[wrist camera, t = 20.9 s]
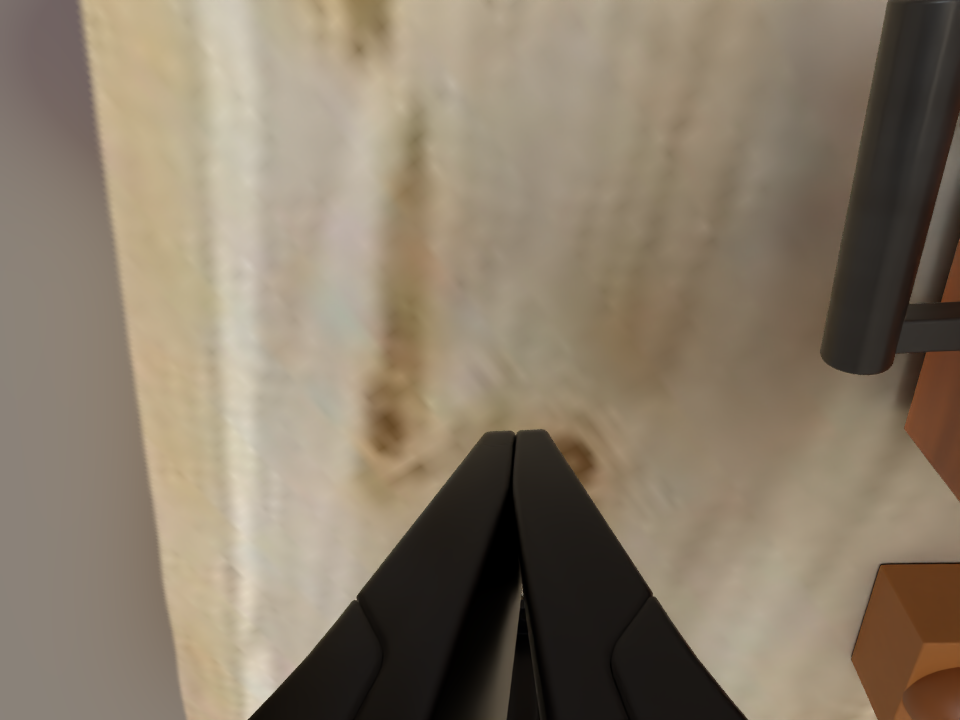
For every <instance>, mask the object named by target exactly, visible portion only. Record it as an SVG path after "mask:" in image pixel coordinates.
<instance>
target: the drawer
mask: <svg viewBox="0 0 960 720" xmlns="http://www.w3.org/2000/svg"><path fill="white" fill-rule="evenodd" d="M959 111H960V0H889V1H888V2H887V7H886V13H885V18H884V23H883V28H882V33H881V39H880V44H879V49H878V54H877V59H876V64H875V70H874V75H873V80H872V85H871V90H870V96H869V101H868V106H867V111H866V116H865V121H864V127H863V132H862V137H861V142H860V147H859V152H858V158H857V163H856V168H855V173H854V178H853V184H852V189H851V194H850V199H849V204H848V209H847V215H846V220H845V225H844V230H843V235H842V241H841V246H840V251H839V256H838V261H837V266H836V272H835V277H834V282H833V287H832V292H831V298H830V303H829V308H828V313H827V318H826V323H825V329H824V334H823V339H822V344H821V349H820V354H821V357H822V359H823V360H824V361H825V362H826V363H827V364H828V365H829V366H831V367H833V368H835V369H837V370H840V371H843V372H846V373H851V374H858V375H874V374H879V373H882V372H885V371H886V370H888V369H889V368H890V367H891V366H892V364H893V362H894V358H895V354H899V353H920V352H926V355H925V358H924V362H923V365H922V369H921V372H920V375H919V379H918V382H917V386H916V389H915V393H914V396H913V399H912V403H911V406H910V410H909V413H908V417H907V420H906V423H905V427H904V429H905V431H906V432H907V433H908V435H909V436H910V437H911V439H912V440H913V441H914V443H915V444H916V445H917V447H918V448H919V449H920V450H921V452H922V453H923V454H924V456H925V457H926V458H927V460H928V461H929V462H930V464H931V465H932V466H933V468H934V469H935V470H936V471H937V473H938V474H939V475H940V477H941V478H942V479H943V481H944V482H945V483H946V485H947V486H948V487H949V489H950V490H951V491H952V492H953V494H954V495H955V496H956V498H957V499H958V500H959V502H960V238H959V242H958V245H957V249H956V252H955V255H954V259H953V262H952V266H951V269H950V273H949V276H948V279H947V283H946V286H945V290H944V293H943V297H942V300H941V302H940V303H922V304H909V301H910V297H911V293H912V290H913V286H914V282H915V278H916V274H917V271H918V267H919V263H920V259H921V255H922V252H923V248H924V244H925V240H926V236H927V233H928V229H929V225H930V221H931V218H932V214H933V210H934V206H935V202H936V199H937V195H938V191H939V187H940V183H941V180H942V176H943V172H944V168H945V164H946V161H947V157H948V153H949V149H950V145H951V142H952V138H953V134H954V130H955V126H956V123H957V119H958V115H959Z"/></svg>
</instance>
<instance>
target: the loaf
mask: <svg viewBox="0 0 960 720" xmlns="http://www.w3.org/2000/svg"><path fill="white" fill-rule="evenodd" d="M851 660H852V662H853V665H854V667H855V669H856V671H857V674H858V676H859V678H860V680H861V683H862V685H863V687H864V689H865V692H866V694H867V696H868V698H869V701H870V703H871V705H872V707H873V710H874V712H875V714H876V717H877V719H878V720H960V564H897V565H881V566H880V569H879V572H878V575H877V578H876V582H875V585H874V588H873V591H872V594H871V598H870V601H869V604H868V607H867V610H866V614H865V617H864V620H863V623H862V626H861V630H860V633H859V636H858V639H857V642H856V646H855V649H854V652H853V655H852V658H851Z"/></svg>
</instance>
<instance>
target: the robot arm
mask: <svg viewBox="0 0 960 720" xmlns="http://www.w3.org/2000/svg"><path fill="white" fill-rule="evenodd" d="M522 587H523V596H524V600H521V591H522ZM248 720H748V719H747V718H746V717H745V715H744V714H743V713H742V712H741V711H740V710H739V708H738V707H737V706H736V705H735V704H734V702H733V701H732V700H731V699H730V698H729V697H728V695H727V694H726V693H725V692H724V690H723V689H722V688H721V687H720V685H719V684H718V683H717V682H716V680H715V679H714V678H713V677H712V675H711V674H710V673H709V672H708V670H707V669H706V668H705V667H704V665H703V664H702V663H701V662H700V660H699V659H698V658H697V657H696V655H695V654H694V652H693V651H692V649H691V648H690V647H689V645H688V644H687V642H686V641H685V639H684V638H683V637H682V635H681V634H680V632H679V631H678V630H677V628H676V627H675V625H674V624H673V622H672V621H671V620H670V618H669V616H668V615H667V613H666V612H665V610H664V609H663V607H662V606H661V604H660V603H659V601H658V600H657V598H656V597H654V596H653V593H652V591H651V589H650V588H649V586H648V585H647V583H646V582H645V580H644V579H643V577H642V576H641V574H640V573H639V571H638V570H637V568H636V567H635V565H634V563H633V562H632V560H631V559H630V557H629V556H628V554H627V553H626V551H625V550H624V548H623V547H622V545H621V544H620V542H619V541H618V539H617V537H616V536H615V534H614V533H613V531H612V530H611V528H610V527H609V525H608V524H607V522H606V521H605V519H604V518H603V516H602V515H601V513H600V511H599V510H598V508H597V507H596V505H595V504H594V502H593V501H592V499H591V498H590V496H589V495H588V493H587V492H586V490H585V489H584V487H583V485H582V484H581V482H580V481H579V479H578V478H577V476H576V475H575V473H574V472H573V470H572V469H571V467H570V466H569V464H568V463H567V461H566V460H565V458H564V456H563V455H562V453H561V452H560V450H559V449H558V447H557V446H556V444H555V443H554V441H553V440H552V438H551V437H550V435H549V434H548V432H547V431H546V430H543V429H537V430H520V431H518V432H517V434H516V435H515V433H514V432H513V431H491V432H487V433H485V434H484V435H483V436H482V437H481V439H480V440H479V441H478V442H477V444H476V445H475V446H474V447H473V449H472V450H471V451H470V452H469V454H468V455H467V456H466V458H465V459H464V460H463V461H462V463H461V464H460V465H459V466H458V468H457V469H456V470H455V472H454V473H453V474H452V475H451V477H450V478H449V479H448V480H447V482H446V483H445V484H444V486H443V487H442V488H441V489H440V491H439V492H438V493H437V494H436V496H435V497H434V498H433V500H432V501H431V502H430V503H429V505H428V506H427V507H426V508H425V510H424V511H423V512H422V514H421V515H420V516H419V517H418V519H417V520H416V521H415V522H414V524H413V525H412V526H411V528H410V529H409V530H408V531H407V533H406V534H405V535H404V536H403V538H402V539H401V540H400V542H399V543H398V544H397V545H396V547H395V548H394V549H393V550H392V552H391V553H390V554H389V556H388V557H387V558H386V559H385V561H384V562H383V563H382V564H381V566H380V567H379V568H378V569H377V571H376V572H375V573H374V575H373V576H372V577H371V578H370V580H369V581H368V582H367V583H366V585H365V586H364V587H363V589H362V590H361V591H360V592H359V594H358V595H357V600H353V601H352V602H351V603H350V605H349V606H348V607H347V609H346V610H345V611H344V612H343V614H342V615H341V616H340V617H339V619H338V620H337V621H336V622H335V624H334V625H333V626H332V627H331V628H330V630H329V631H328V632H327V633H326V634H325V636H324V637H323V638H322V639H321V640H320V642H319V643H318V644H317V645H316V646H315V648H314V649H313V650H312V651H311V653H310V654H309V655H308V656H307V657H306V658H305V659H304V660H303V662H302V663H301V664H300V665H299V666H298V667H297V668H296V669H295V670H294V671H293V672H292V673H291V675H290V676H289V677H288V678H287V679H286V680H285V681H284V682H283V683H282V684H281V685H280V686H279V688H278V689H277V690H276V691H275V692H274V693H273V694H272V695H271V696H270V697H269V698H268V699H267V700H266V701H265V702H264V703H263V704H262V705H261V707H260V708H259V709H258V710H257V711H256V712H255V713H254V714H253V715H252V716H251V717H250V718H249V719H248Z"/></svg>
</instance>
